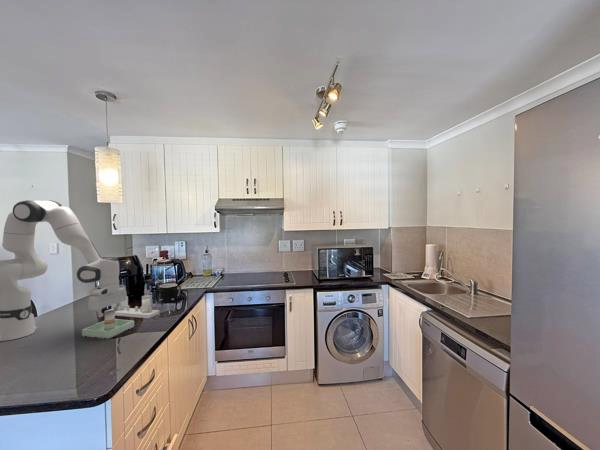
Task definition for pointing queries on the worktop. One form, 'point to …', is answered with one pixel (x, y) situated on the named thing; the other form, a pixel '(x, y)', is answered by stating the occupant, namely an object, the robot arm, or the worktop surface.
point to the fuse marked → (109, 320)
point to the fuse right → (145, 303)
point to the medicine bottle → (124, 302)
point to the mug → (168, 293)
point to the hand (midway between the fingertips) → (108, 313)
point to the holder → (135, 312)
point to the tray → (99, 331)
